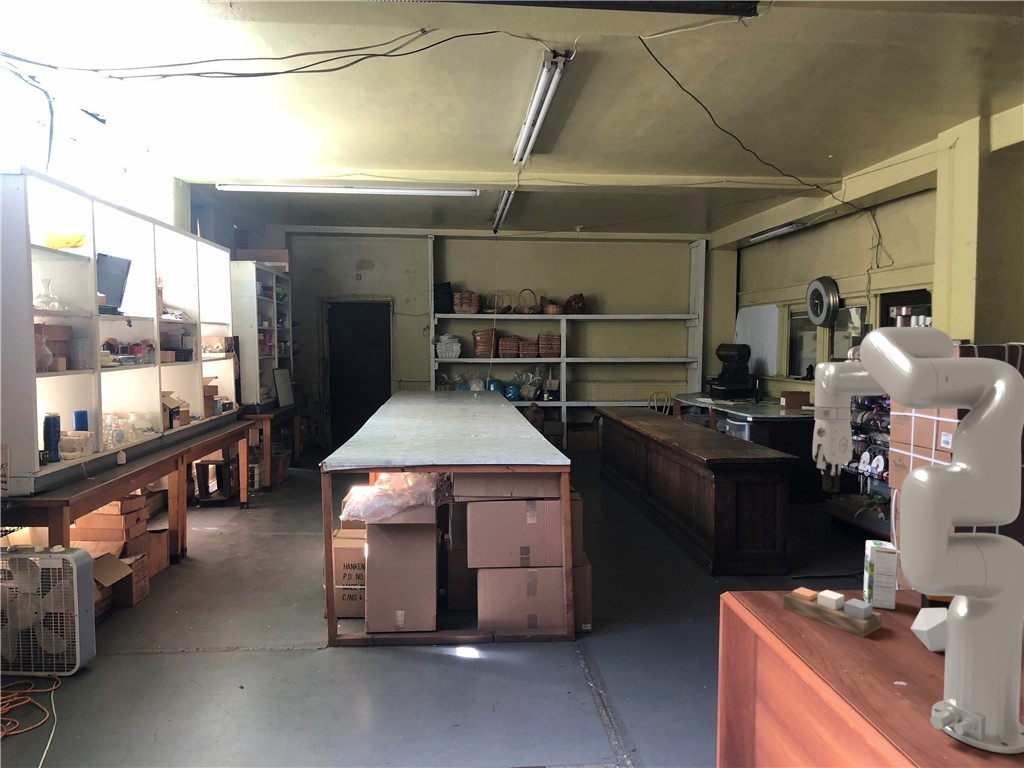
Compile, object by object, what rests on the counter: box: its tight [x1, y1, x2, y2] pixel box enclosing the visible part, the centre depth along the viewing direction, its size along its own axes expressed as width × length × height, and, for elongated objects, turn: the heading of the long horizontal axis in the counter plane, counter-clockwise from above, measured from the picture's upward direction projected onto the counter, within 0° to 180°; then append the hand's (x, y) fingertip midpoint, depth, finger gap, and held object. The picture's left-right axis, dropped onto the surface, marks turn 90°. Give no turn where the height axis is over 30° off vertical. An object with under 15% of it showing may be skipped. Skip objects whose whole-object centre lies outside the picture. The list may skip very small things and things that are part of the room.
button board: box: [782, 592, 882, 638], centre depth 138 cm, size 18×8×3 cm, turn 35°
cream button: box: [817, 589, 845, 610], centre depth 138 cm, size 4×4×3 cm
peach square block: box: [792, 586, 819, 601], centre depth 143 cm, size 4×4×3 cm
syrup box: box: [863, 539, 898, 610], centre depth 145 cm, size 6×6×14 cm
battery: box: [920, 593, 953, 609], centre depth 136 cm, size 4×7×10 cm, turn 158°
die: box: [910, 607, 948, 652], centre depth 123 cm, size 8×9×10 cm
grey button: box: [844, 597, 874, 620], centre depth 133 cm, size 4×4×3 cm
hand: (830, 490), depth 145 cm, fingers closed
